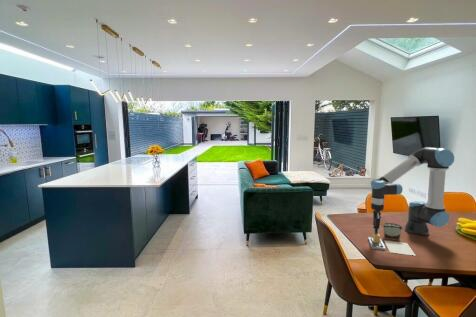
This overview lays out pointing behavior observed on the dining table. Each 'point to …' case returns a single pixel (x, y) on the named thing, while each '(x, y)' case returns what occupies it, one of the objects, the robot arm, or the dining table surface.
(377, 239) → the yellow block
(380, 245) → the panel
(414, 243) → the dining table surface
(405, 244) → the mat
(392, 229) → the food container
